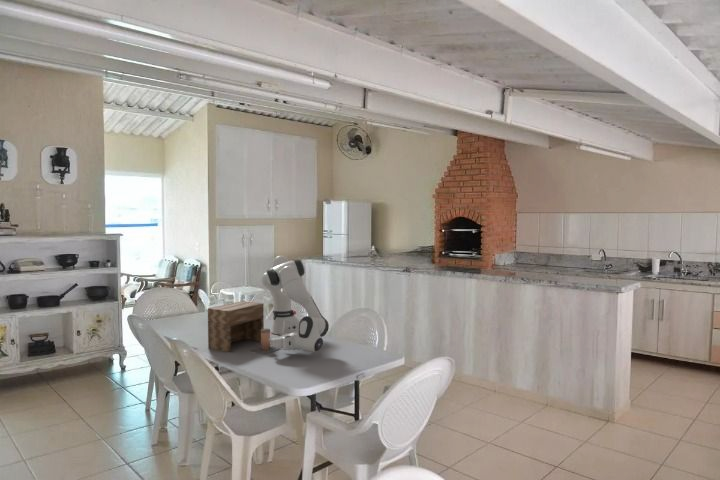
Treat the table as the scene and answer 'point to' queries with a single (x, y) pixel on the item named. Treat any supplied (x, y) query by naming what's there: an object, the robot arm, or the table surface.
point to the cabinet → (234, 324)
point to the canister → (265, 339)
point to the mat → (266, 350)
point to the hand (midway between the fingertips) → (275, 337)
